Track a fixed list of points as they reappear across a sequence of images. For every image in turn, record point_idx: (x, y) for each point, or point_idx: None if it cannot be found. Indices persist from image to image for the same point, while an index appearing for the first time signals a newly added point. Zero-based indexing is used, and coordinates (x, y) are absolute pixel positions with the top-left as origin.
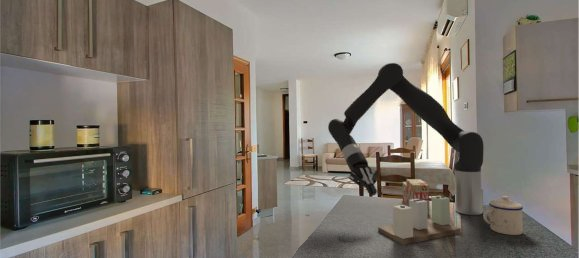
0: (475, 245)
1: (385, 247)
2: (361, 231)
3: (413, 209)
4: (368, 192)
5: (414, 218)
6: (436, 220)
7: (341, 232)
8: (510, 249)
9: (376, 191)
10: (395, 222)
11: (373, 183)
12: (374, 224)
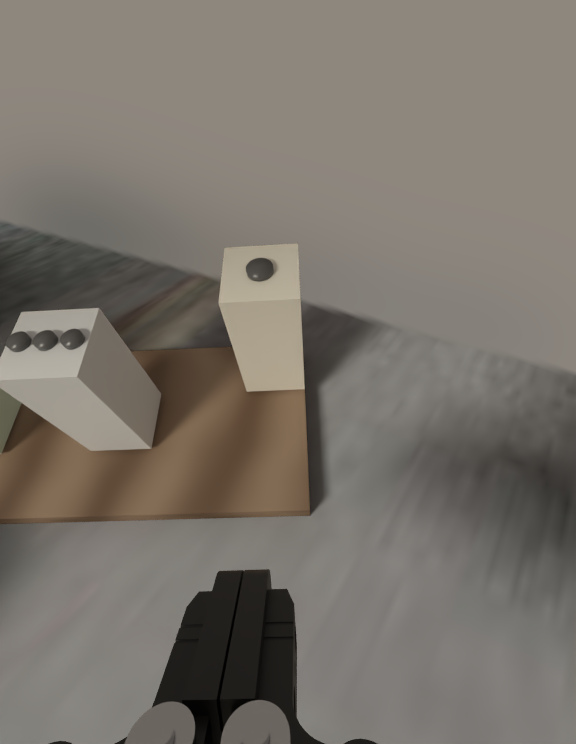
0: (92, 286)
1: (382, 358)
2: (401, 558)
3: (114, 372)
4: (296, 652)
5: (137, 393)
6: (1, 418)
7: (534, 596)
8: (45, 248)
9: (203, 594)
10: (302, 342)
11: (129, 738)
12: None
